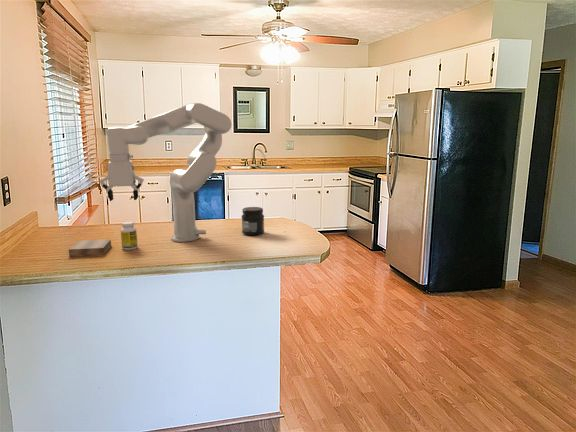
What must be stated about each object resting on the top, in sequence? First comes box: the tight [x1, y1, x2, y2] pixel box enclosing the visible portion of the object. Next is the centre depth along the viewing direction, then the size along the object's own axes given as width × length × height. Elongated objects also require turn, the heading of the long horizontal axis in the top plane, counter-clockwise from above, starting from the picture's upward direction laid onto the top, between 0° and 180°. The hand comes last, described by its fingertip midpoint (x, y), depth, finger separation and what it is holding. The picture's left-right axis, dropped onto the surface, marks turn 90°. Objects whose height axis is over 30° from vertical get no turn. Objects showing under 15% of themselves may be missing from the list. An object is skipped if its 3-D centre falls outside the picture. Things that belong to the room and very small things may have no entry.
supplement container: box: [241, 206, 265, 237], centre depth 212 cm, size 10×10×12 cm
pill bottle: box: [120, 221, 138, 251], centre depth 189 cm, size 6×6×11 cm
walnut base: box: [68, 239, 112, 258], centre depth 185 cm, size 13×13×3 cm
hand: (123, 199), depth 186 cm, fingers open, 9 cm apart
